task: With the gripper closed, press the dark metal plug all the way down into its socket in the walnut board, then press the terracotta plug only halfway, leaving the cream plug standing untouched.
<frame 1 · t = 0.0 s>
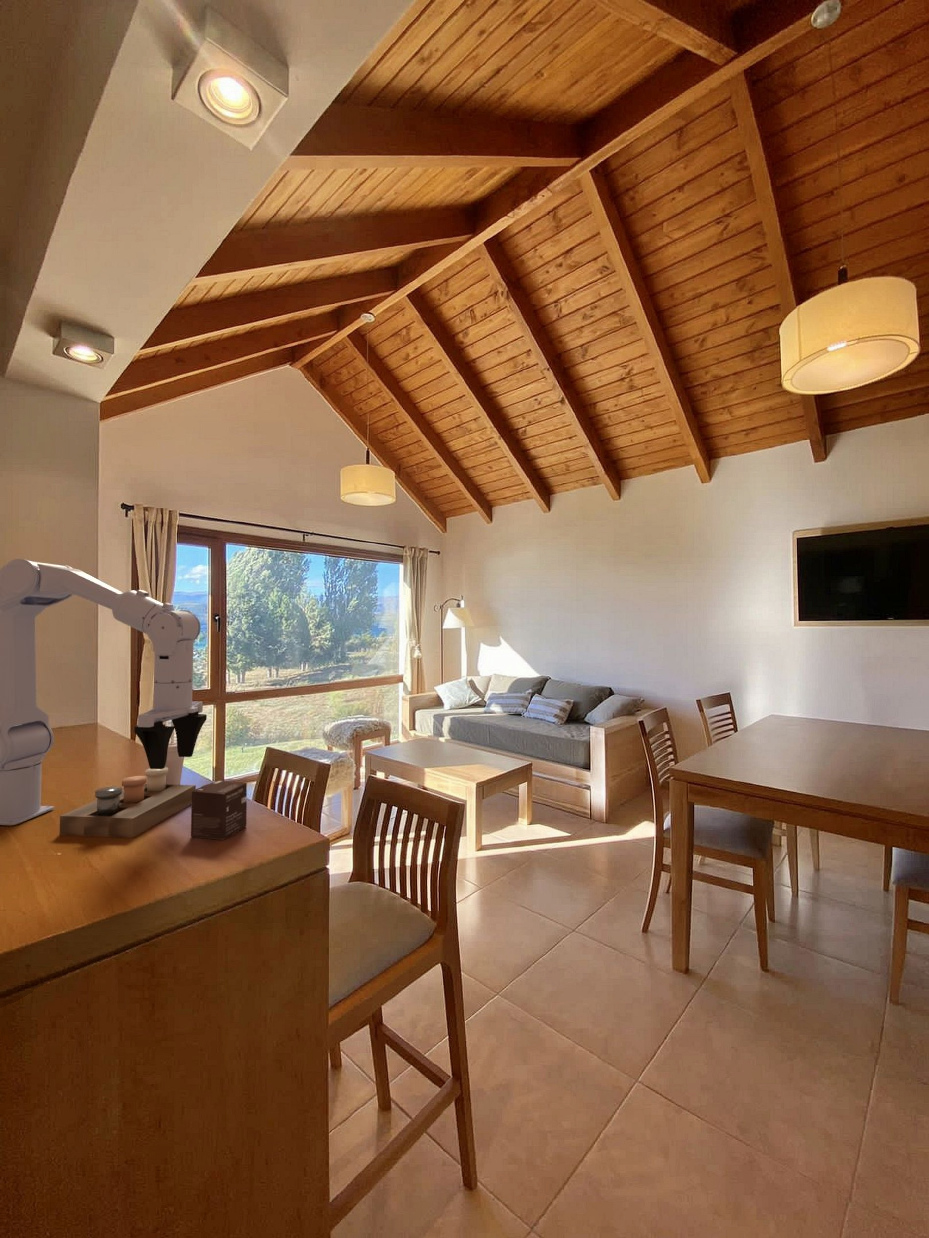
hand: (171, 762, 88), 10 cm above the table, tool pointing down, fingers open, 7 cm apart
smoothie: (168, 793, 103), on the table
box: (219, 833, 84), on the table
socket board: (133, 816, 90), on the table
plug cream: (156, 780, 96), point 4 cm above the table, slide at 0.0 cm
plug metal: (108, 802, 84), point 4 cm above the table, slide at 0.0 cm
plug terracotta: (134, 790, 90), point 4 cm above the table, slide at 0.0 cm
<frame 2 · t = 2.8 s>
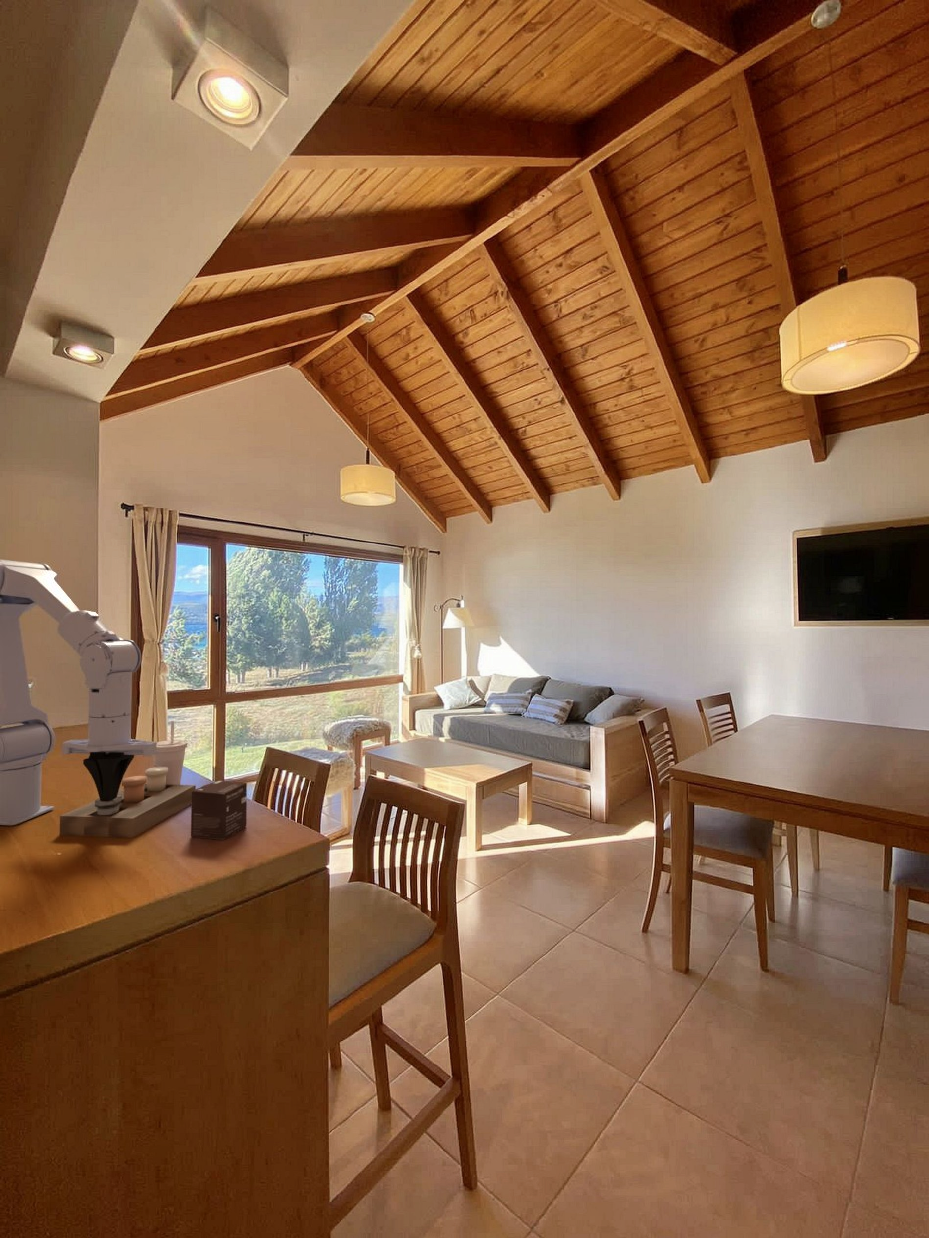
hand: (108, 799, 84), 5 cm above the table, tool pointing down, fingers closed, pressing on plug metal
plug metal: (108, 811, 84), point 3 cm above the table, slide at 1.5 cm, touching gripper
everything else where it was.
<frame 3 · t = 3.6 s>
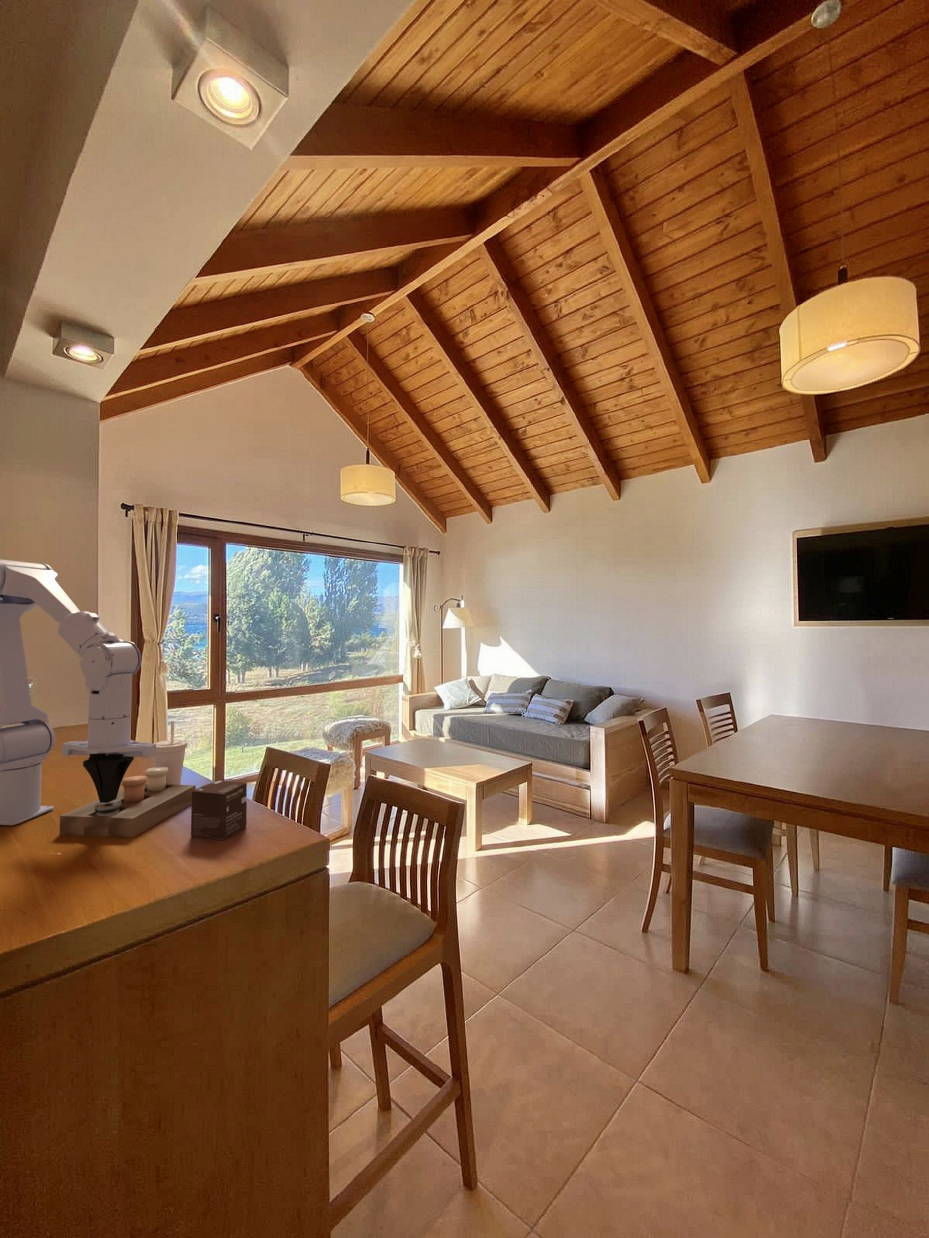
hand: (108, 800, 84), 5 cm above the table, tool pointing down, fingers closed
plug metal: (108, 815, 84), point 2 cm above the table, slide at 2.2 cm
everything else where it was.
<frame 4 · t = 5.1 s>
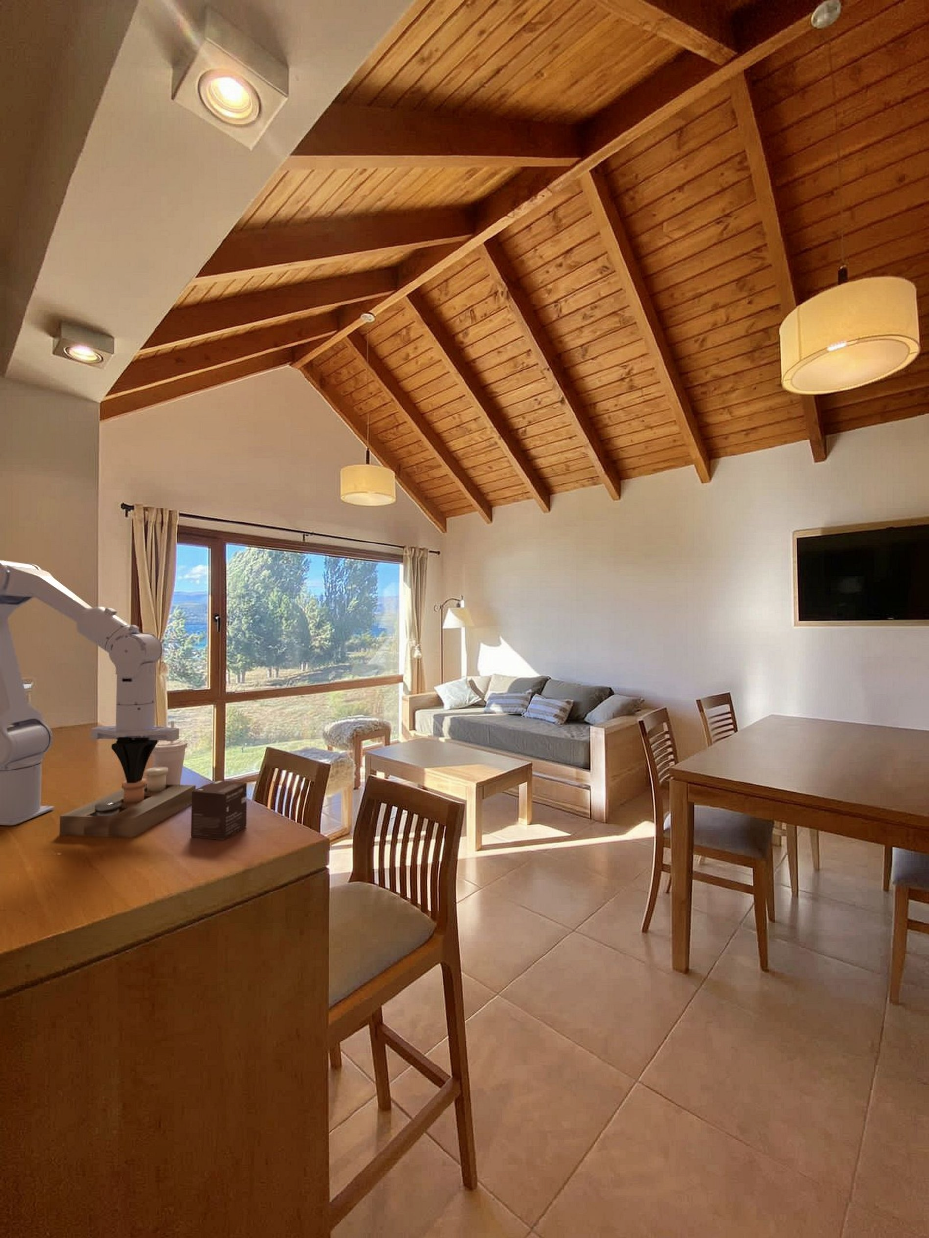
hand: (134, 781, 90), 6 cm above the table, tool pointing down, fingers closed, pressing on plug terracotta
plug terracotta: (134, 792, 90), point 4 cm above the table, slide at 0.4 cm, touching gripper
everything else where it was.
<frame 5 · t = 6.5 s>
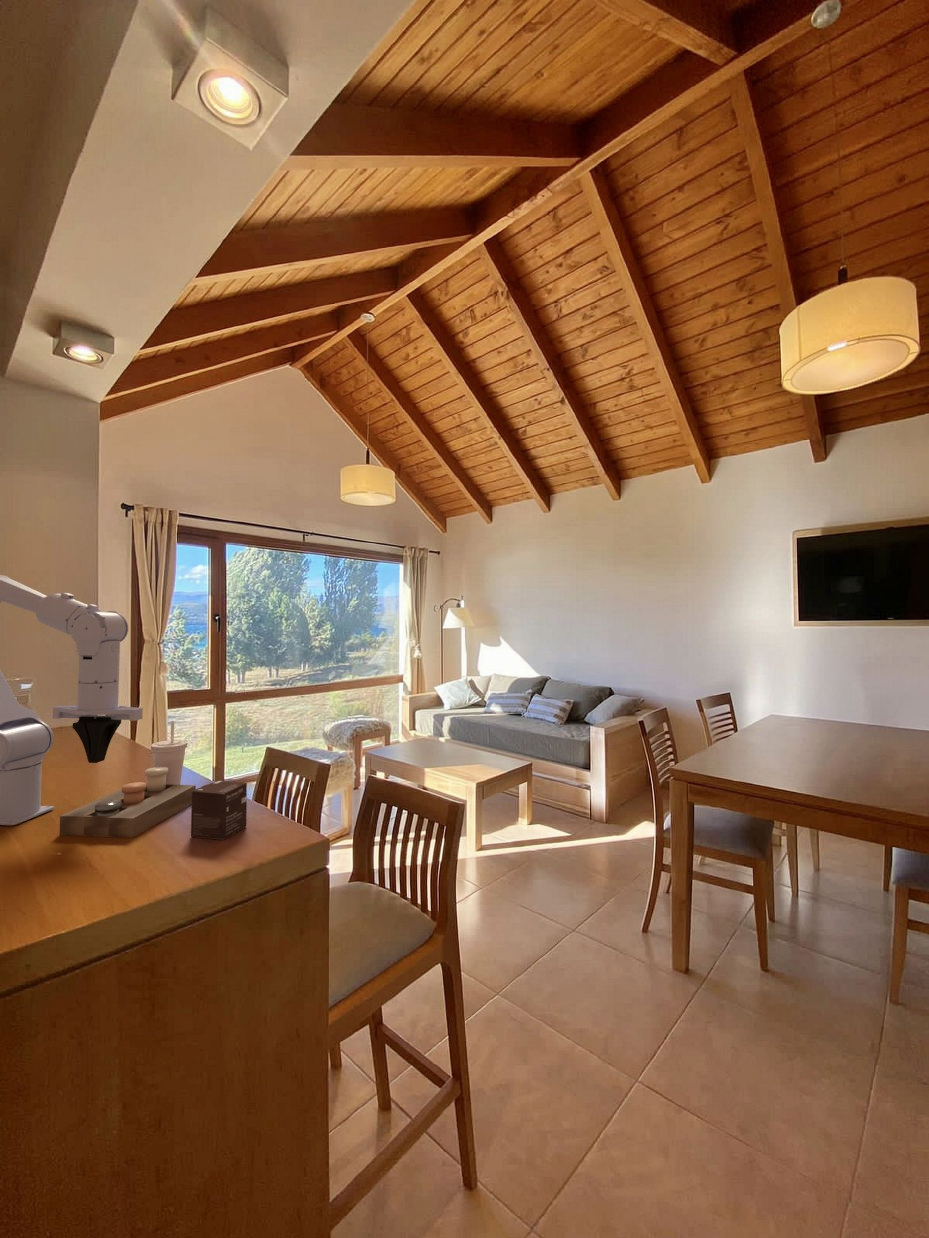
hand: (96, 761, 89), 10 cm above the table, tool pointing down, fingers closed
plug terracotta: (133, 796, 90), point 3 cm above the table, slide at 1.1 cm
everything else where it was.
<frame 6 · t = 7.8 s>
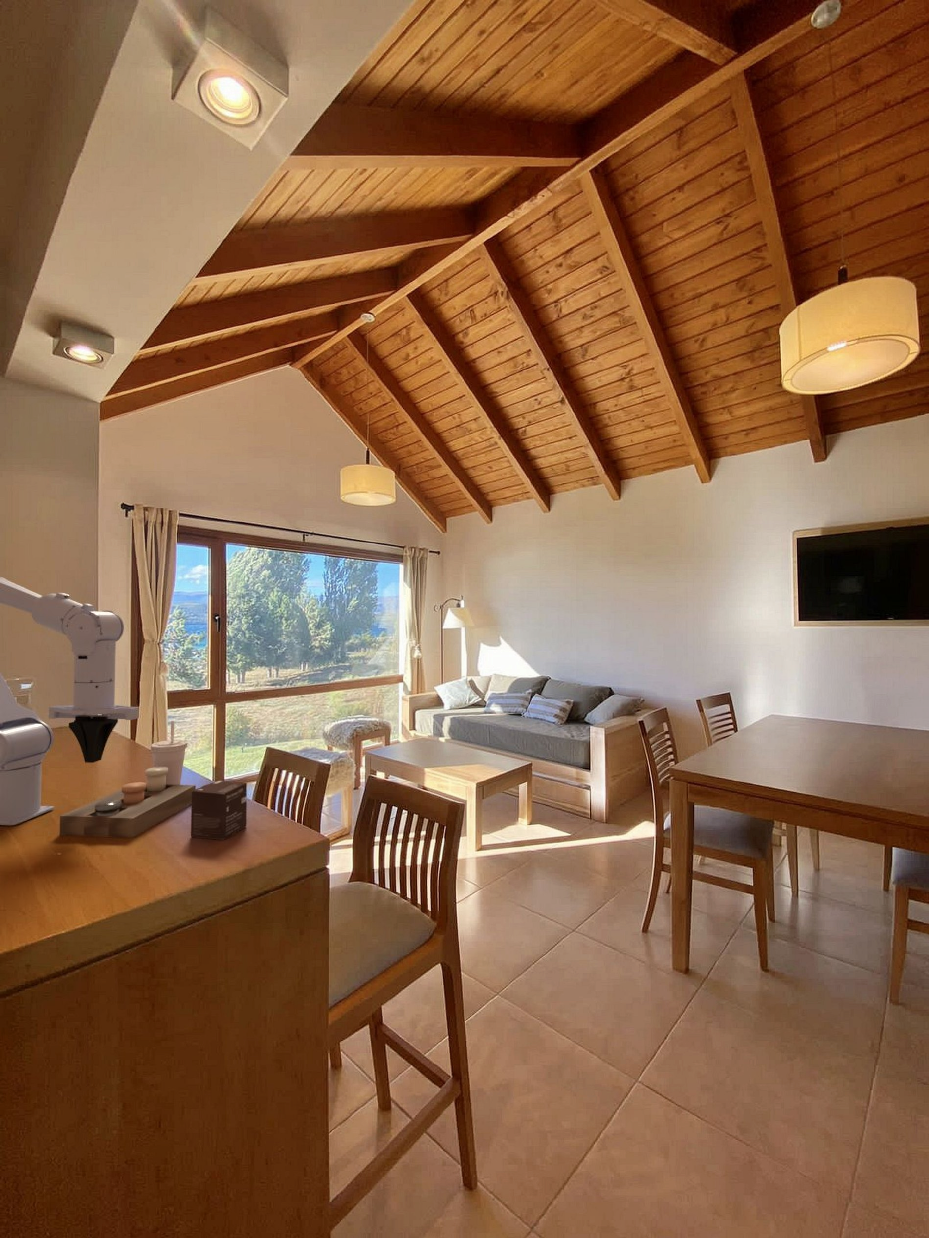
hand: (93, 761, 88), 10 cm above the table, tool pointing down, fingers closed
nothing on the table moved.
at the end: plug metal slide at 2.2 cm; plug terracotta slide at 1.1 cm; plug cream slide at 0.0 cm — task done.
